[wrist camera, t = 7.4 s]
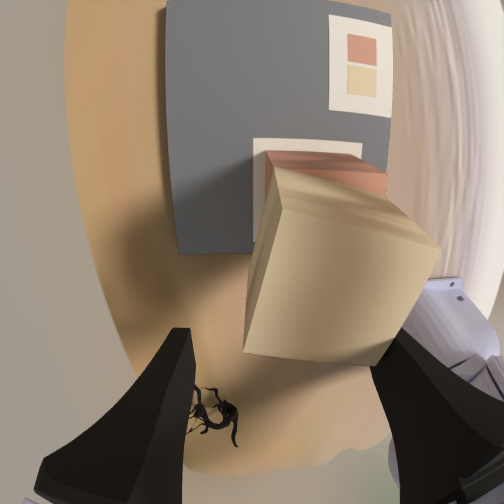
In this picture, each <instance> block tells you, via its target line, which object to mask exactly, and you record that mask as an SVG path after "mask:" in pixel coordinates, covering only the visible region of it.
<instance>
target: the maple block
mask: <svg viewBox="0 0 504 504" xmlns="http://www.w3.org/2000/svg"><path fill="white" fill-rule="evenodd" d="M441 252H442V249H441V248H440V247H439V246H438V245H437V244H436V243H435V242H434V241H433V240H432V239H431V238H430V237H429V236H428V235H427V234H426V233H425V232H424V231H423V230H421V229H420V228H419V227H418V226H417V225H416V224H415V223H414V222H413V221H412V220H411V219H410V218H409V217H408V216H407V215H405V214H404V213H403V212H402V211H401V210H400V209H399V208H398V207H397V206H395V205H394V204H393V203H392V202H391V201H390V200H389V199H387V198H386V197H385V196H383V195H379V194H376V193H373V192H370V191H366V190H363V189H360V188H356V187H353V186H349V185H346V184H342V183H338V182H335V181H331V180H327V179H324V178H320V177H316V176H312V175H308V174H304V173H300V172H296V171H292V170H287V169H283V168H279V167H273V171H272V175H271V180H270V184H269V188H268V192H267V196H266V200H265V204H264V209H263V213H262V217H261V221H260V225H259V229H258V233H257V238H256V242H255V246H254V250H253V254H252V258H251V262H250V267H249V271H248V283H247V298H246V312H245V327H244V342H243V352H246V353H253V354H259V355H266V356H273V357H280V358H288V359H296V360H305V361H314V362H325V363H336V364H348V365H363V366H376V365H377V363H378V362H379V360H380V359H381V357H382V356H383V355H384V353H385V352H386V350H387V349H388V347H389V346H390V344H391V342H392V341H393V339H394V338H395V336H396V335H397V333H398V331H399V330H400V328H401V327H402V325H403V323H404V322H405V320H406V318H407V317H408V315H409V313H410V311H411V310H412V308H413V306H414V305H415V303H416V301H417V299H418V297H419V296H420V294H421V292H422V290H423V288H424V286H425V284H426V283H427V281H428V279H429V277H430V275H431V273H432V271H433V269H434V267H435V265H436V263H437V261H438V259H439V257H440V254H441Z"/></svg>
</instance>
